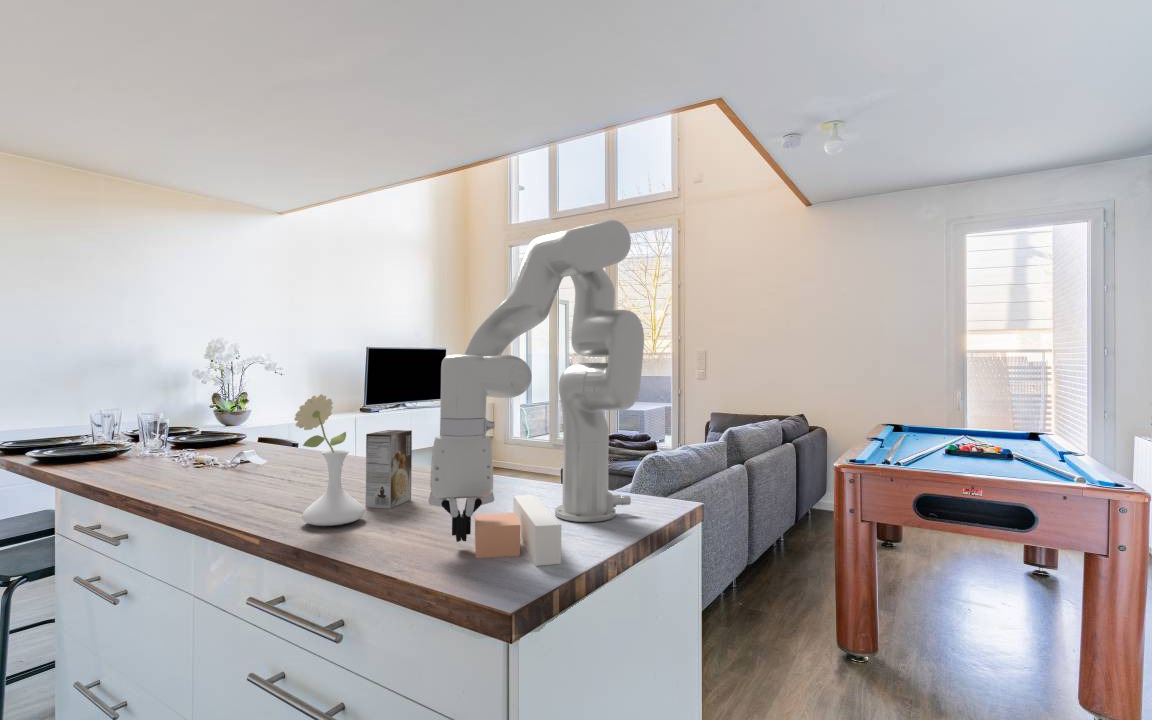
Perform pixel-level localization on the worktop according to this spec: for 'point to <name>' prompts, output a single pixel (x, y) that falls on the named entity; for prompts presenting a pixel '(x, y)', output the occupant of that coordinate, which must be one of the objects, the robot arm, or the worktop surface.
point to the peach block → (497, 535)
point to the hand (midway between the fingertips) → (461, 539)
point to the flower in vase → (334, 502)
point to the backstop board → (538, 530)
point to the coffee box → (388, 468)
